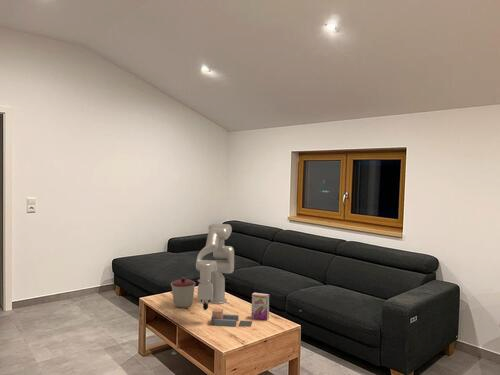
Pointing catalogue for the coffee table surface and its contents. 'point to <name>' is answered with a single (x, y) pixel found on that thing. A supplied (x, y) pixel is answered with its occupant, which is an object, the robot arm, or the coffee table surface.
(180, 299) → the canister
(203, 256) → the robot arm
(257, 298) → the candy bar box
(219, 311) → the block
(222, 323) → the grey u-shaped bracket
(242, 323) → the mat
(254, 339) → the coffee table surface
